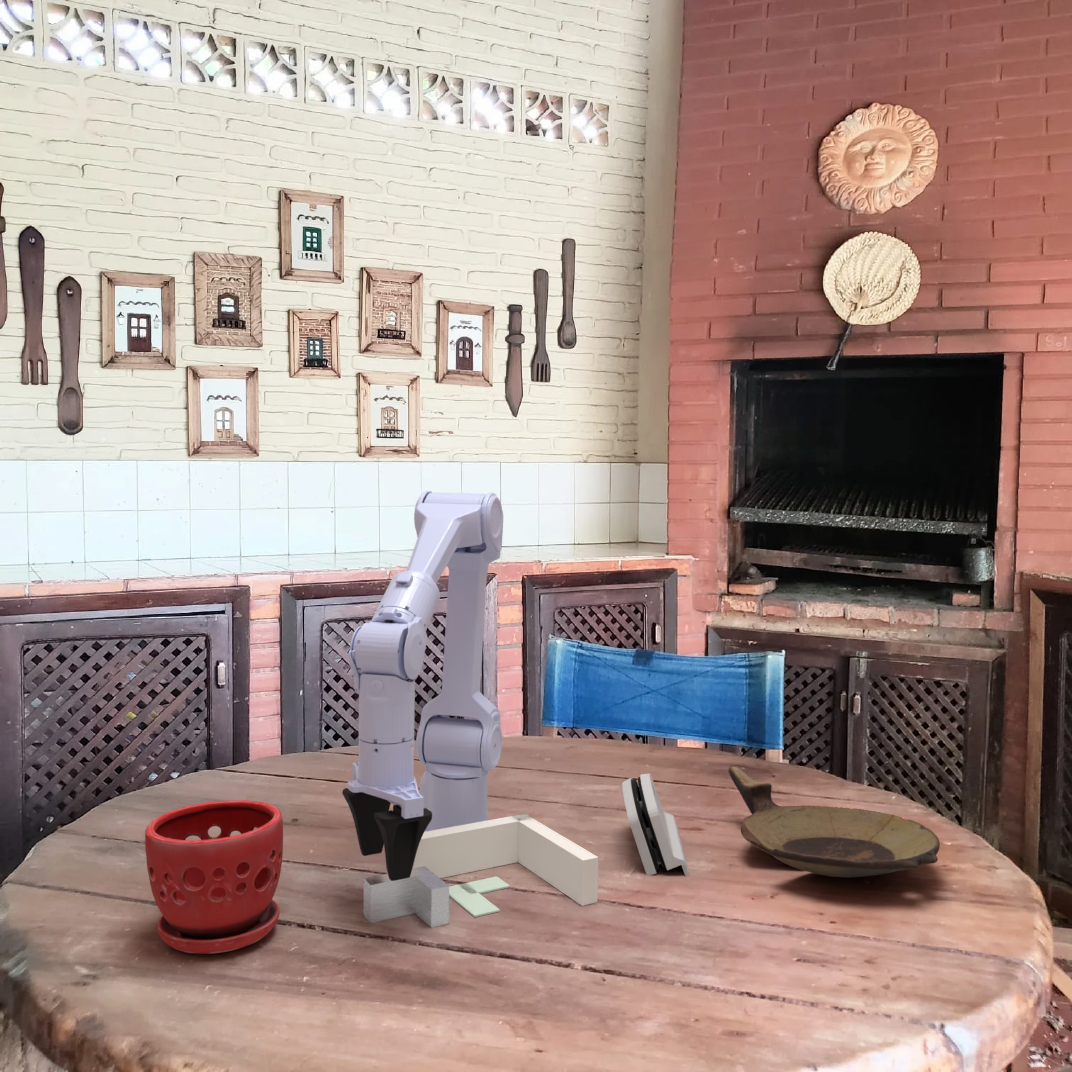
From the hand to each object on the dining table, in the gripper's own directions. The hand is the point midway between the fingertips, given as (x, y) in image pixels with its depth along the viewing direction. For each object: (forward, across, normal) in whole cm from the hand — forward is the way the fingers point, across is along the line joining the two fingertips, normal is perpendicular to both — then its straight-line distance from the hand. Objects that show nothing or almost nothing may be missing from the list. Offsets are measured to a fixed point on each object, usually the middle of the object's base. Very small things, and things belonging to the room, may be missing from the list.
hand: (385, 865), depth 106 cm
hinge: (+6, -2, +36) cm, 37 cm away
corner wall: (+5, 0, +13) cm, 14 cm away
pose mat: (+5, +1, +12) cm, 13 cm away
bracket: (+5, +2, +2) cm, 6 cm away
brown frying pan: (+6, +11, +54) cm, 55 cm away
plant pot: (+6, -4, -16) cm, 18 cm away
